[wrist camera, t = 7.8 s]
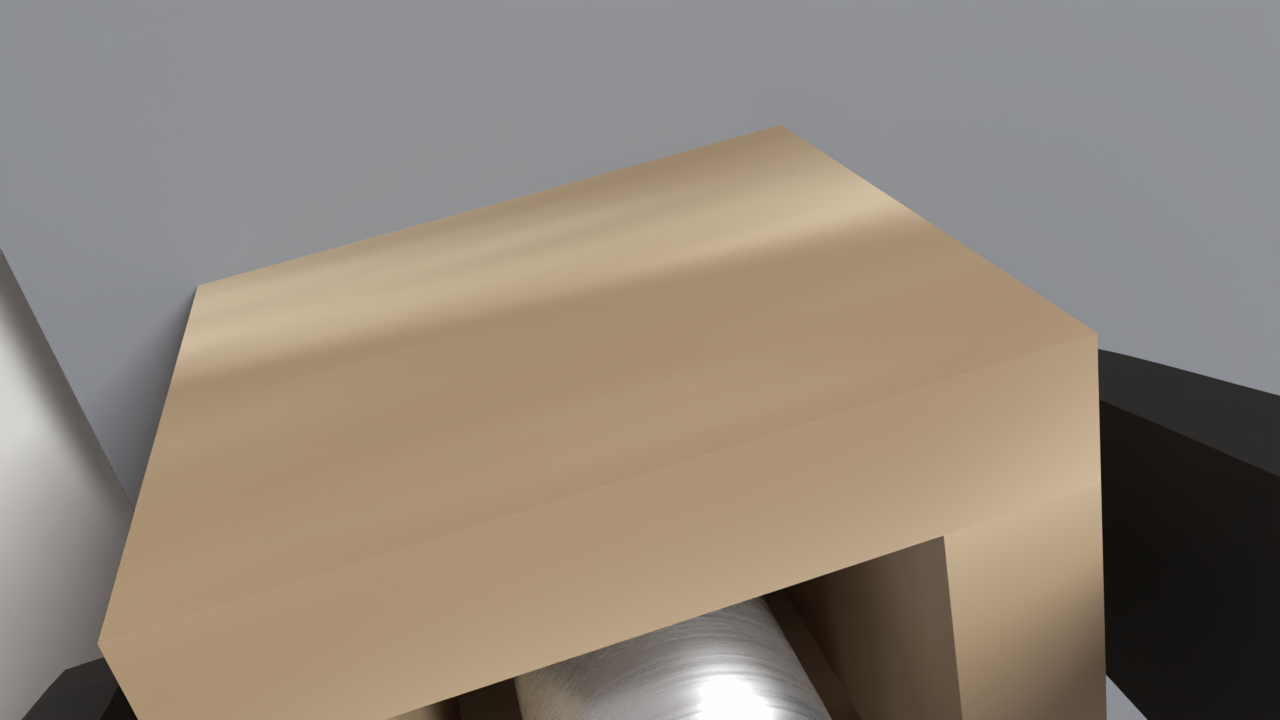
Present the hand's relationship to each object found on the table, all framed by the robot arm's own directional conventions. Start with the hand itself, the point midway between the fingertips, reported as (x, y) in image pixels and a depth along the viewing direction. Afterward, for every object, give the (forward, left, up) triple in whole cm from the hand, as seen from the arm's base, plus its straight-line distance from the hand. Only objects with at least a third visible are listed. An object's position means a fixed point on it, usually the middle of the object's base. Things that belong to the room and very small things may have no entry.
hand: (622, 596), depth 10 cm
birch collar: (0, 0, -2) cm, 2 cm away
